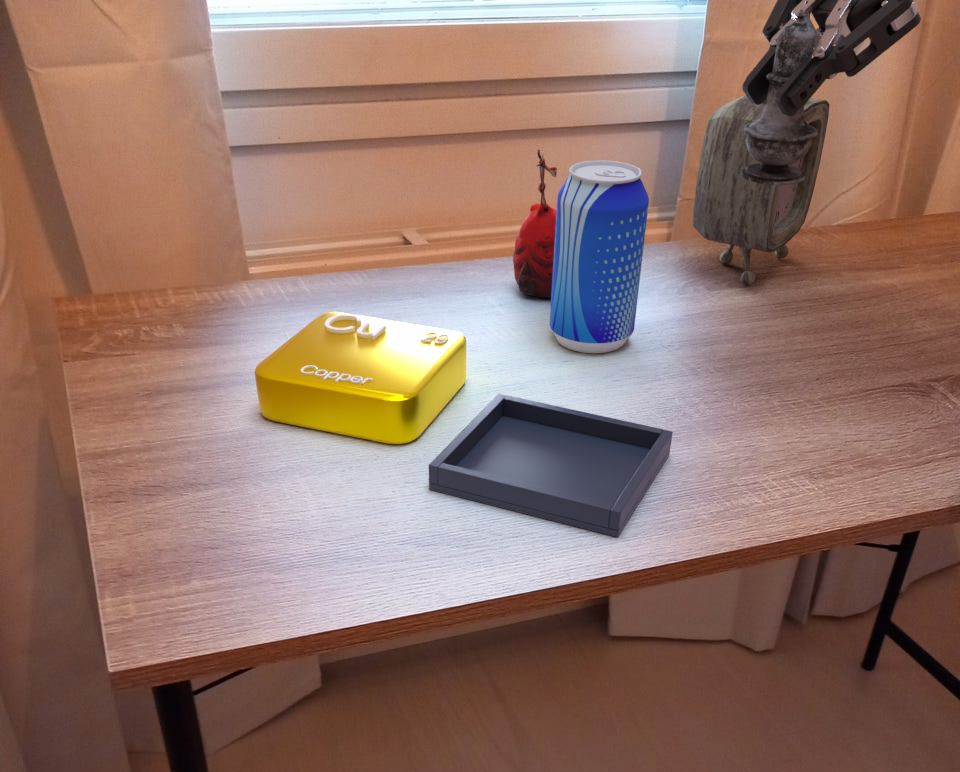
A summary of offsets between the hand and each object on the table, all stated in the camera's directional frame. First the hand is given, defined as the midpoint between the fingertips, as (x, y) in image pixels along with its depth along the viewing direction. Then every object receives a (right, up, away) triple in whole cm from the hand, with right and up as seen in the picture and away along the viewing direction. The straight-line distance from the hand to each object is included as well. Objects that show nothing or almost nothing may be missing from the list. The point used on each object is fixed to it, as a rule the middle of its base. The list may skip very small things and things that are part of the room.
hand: (766, 101), depth 81 cm
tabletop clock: (+8, 0, +38) cm, 39 cm away
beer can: (-12, -13, +22) cm, 28 cm away
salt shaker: (+2, -4, +4) cm, 6 cm away
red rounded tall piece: (-16, -4, +31) cm, 36 cm away
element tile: (-33, -21, +11) cm, 41 cm away
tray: (-17, -29, +1) cm, 34 cm away
